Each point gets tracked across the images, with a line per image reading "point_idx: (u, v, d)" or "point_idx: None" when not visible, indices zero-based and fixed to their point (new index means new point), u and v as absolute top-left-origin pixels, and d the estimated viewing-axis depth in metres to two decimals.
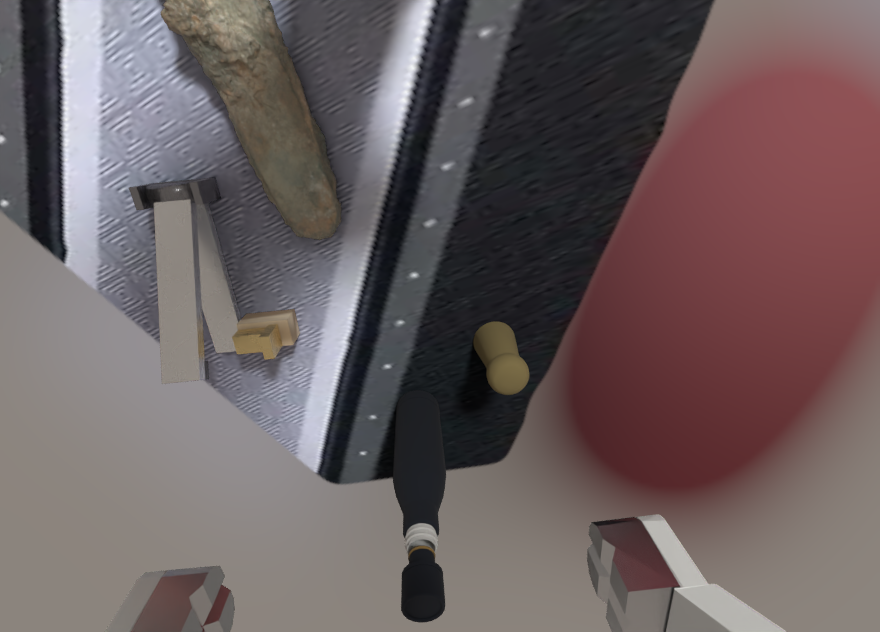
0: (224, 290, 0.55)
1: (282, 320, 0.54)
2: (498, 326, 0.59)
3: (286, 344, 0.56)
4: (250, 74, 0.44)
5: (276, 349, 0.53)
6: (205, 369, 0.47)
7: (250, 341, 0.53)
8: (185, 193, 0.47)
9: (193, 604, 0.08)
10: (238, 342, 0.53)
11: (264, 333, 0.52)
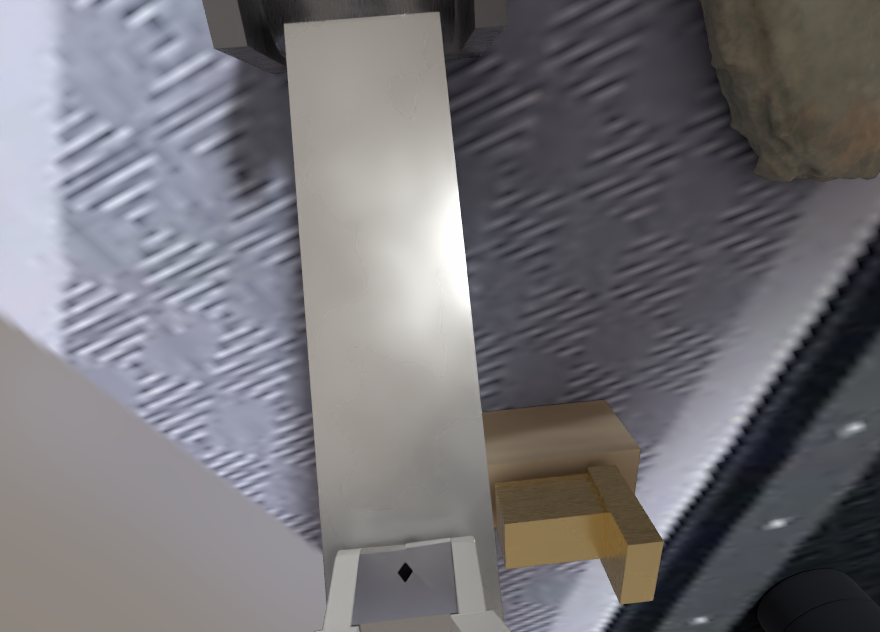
0: None
1: (626, 452, 0.18)
2: None
3: None
4: None
5: None
6: None
7: (559, 534, 0.16)
8: None
9: None
10: (519, 538, 0.16)
11: (625, 519, 0.15)
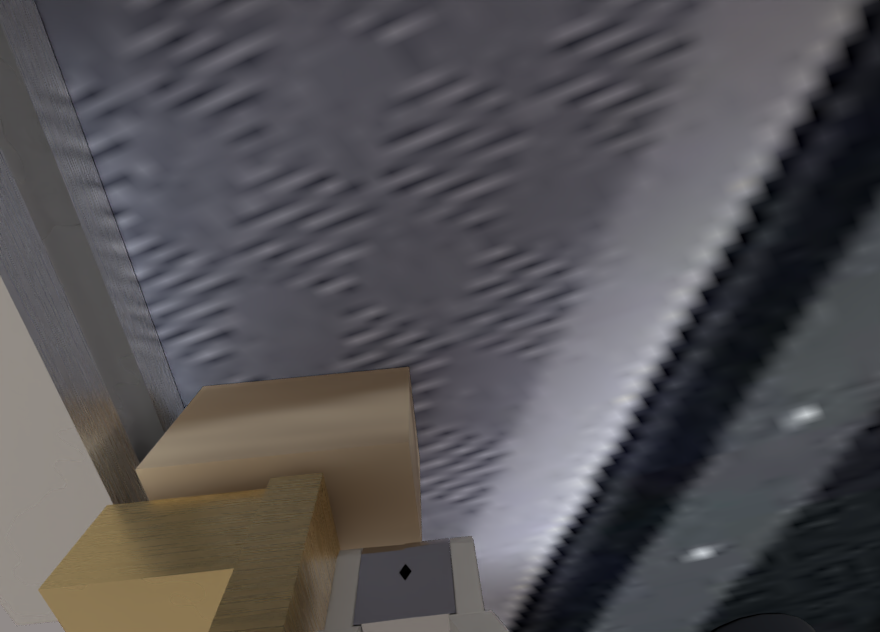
0: (80, 285, 0.11)
1: (385, 448, 0.10)
2: None
3: None
4: None
5: None
6: None
7: (162, 606, 0.08)
8: None
9: None
10: (85, 615, 0.08)
11: (248, 585, 0.08)
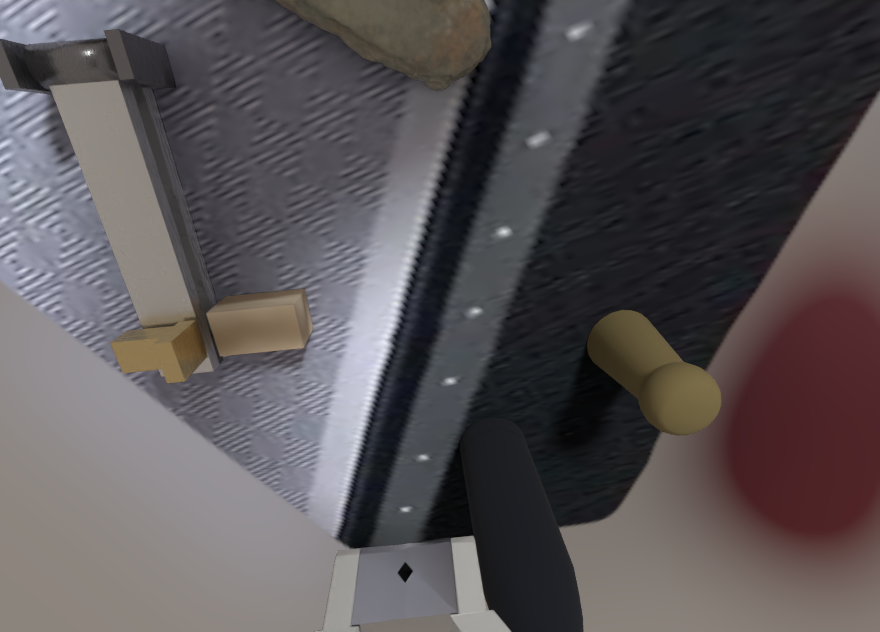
0: (186, 255, 0.32)
1: (286, 306, 0.32)
2: (634, 317, 0.37)
3: (292, 347, 0.33)
4: None
5: (191, 364, 0.30)
6: (215, 351, 0.34)
7: (144, 350, 0.30)
8: (105, 69, 0.25)
9: None
10: (122, 352, 0.30)
11: (166, 336, 0.29)
